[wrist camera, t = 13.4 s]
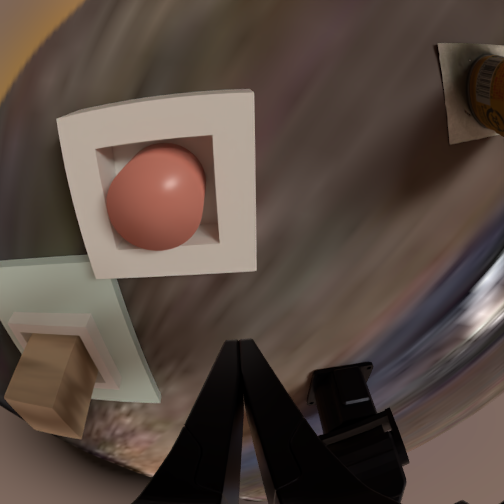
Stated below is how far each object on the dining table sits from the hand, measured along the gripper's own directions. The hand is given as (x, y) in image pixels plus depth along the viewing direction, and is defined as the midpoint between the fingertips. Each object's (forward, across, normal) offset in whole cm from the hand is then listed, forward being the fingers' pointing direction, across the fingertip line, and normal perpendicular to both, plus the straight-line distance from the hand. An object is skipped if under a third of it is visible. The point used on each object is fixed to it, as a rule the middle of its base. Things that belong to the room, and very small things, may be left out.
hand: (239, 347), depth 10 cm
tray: (+12, +16, +12) cm, 23 cm away
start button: (+11, +4, -2) cm, 11 cm away
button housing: (+12, +4, -2) cm, 12 cm away
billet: (+11, +16, +12) cm, 23 cm away
